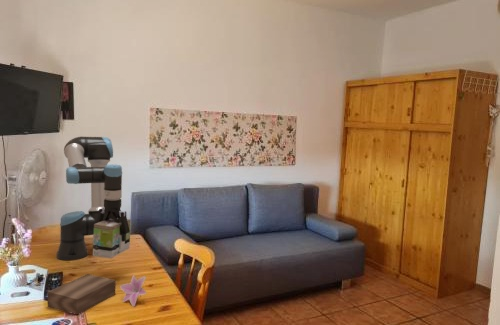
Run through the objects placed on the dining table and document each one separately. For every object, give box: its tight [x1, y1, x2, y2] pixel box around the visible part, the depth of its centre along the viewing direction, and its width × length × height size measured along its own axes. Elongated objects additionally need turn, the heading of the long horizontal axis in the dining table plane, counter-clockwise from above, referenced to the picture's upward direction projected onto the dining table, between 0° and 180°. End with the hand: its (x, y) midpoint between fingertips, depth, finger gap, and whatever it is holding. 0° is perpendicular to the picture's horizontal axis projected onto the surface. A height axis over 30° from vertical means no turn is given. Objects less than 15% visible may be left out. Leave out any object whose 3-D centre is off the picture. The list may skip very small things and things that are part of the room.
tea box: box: [92, 218, 131, 259], centre depth 170 cm, size 15×10×15 cm, turn 168°
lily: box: [119, 275, 147, 307], centre depth 150 cm, size 12×12×10 cm
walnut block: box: [47, 273, 116, 315], centre depth 148 cm, size 15×20×6 cm
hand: (112, 245), depth 170 cm, fingers closed on tea box, 11 cm apart
